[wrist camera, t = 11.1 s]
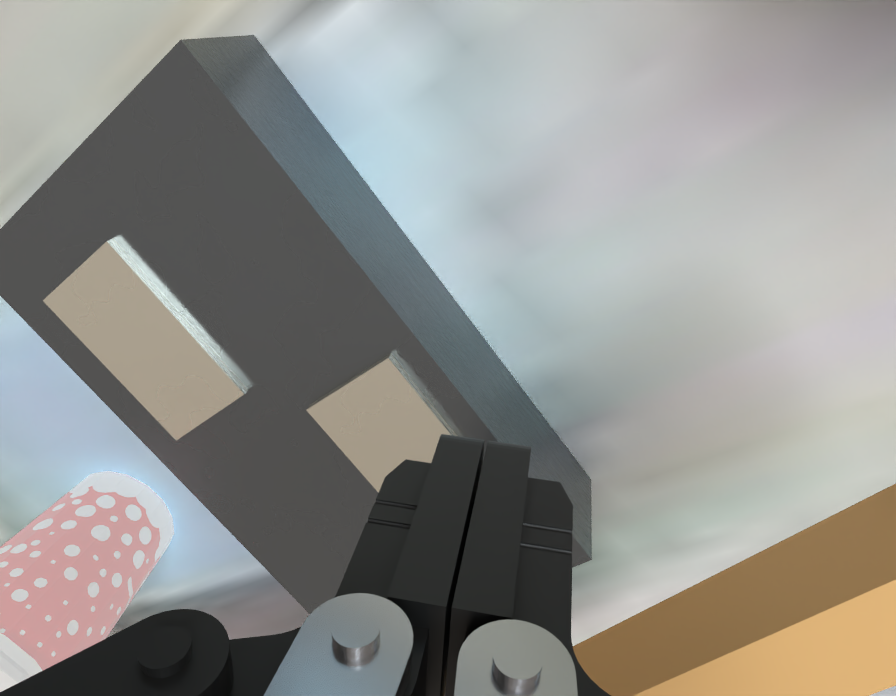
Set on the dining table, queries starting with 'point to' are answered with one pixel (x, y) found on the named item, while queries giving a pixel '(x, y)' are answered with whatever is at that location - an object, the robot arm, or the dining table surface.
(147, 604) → the dining table surface
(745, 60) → the dining table surface
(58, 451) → the dining table surface
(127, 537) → the beverage cup
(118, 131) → the grey rectangular block
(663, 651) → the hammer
